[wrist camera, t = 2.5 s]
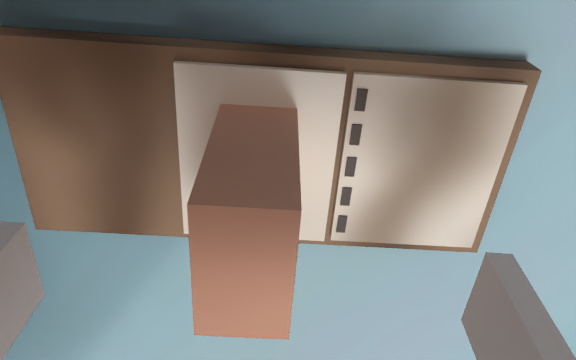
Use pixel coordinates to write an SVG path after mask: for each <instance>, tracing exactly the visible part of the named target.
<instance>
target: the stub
mask: <svg viewBox="0 0 576 360" xmlns="http://www.w3.org/2000/svg"><path fill="white" fill-rule="evenodd" d="M173 68H174V84H175V100H176V116H177V132H178V148H179V164H180V180H181V196H182V212H183V229H184V234H189V249H190V267H191V286H192V304H193V322H194V335H201V336H223V337H244V338H266V339H288V340H289V333H290V323H291V313H292V303H293V293H294V283H295V273H296V262H297V252H298V242H299V240H309V241H324V239H325V232H326V224H327V217H328V210H329V202H330V195H331V187H332V180H333V172H334V165H335V158H336V150H337V143H338V135H339V128H340V121H341V113H342V106H343V98H344V91H345V84H346V76H347V73H346V72H343V71H328V70H312V69H297V68H282V67H266V66H251V65H236V64H221V63H205V62H190V61H174V62H173Z"/></svg>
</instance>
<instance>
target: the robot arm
mask: <svg viewBox="0 0 576 360" xmlns="http://www.w3.org/2000/svg"><path fill="white" fill-rule="evenodd" d="M44 295H45V293H44V290H43V286H42V283H41V279H40V275H39V272H38V268H37V265H36V261H35V258H34V254H33V250H32V247H31V243H30V240H29V236H28V233H27V229H26V225H25V223H16V222H0V360H3V359H4V357H5V355H6V354H7V352H8V351H9V349H10V348H11V346H12V345H13V343H14V341H15V340H16V338H17V337H18V335H19V334H20V332H21V331H22V329H23V327H24V326H25V324H26V323H27V321H28V320H29V318H30V317H31V315H32V313H33V312H34V310H35V309H36V307H37V306H38V304H39V303H40V301H41V299H42V298H43V296H44ZM461 320H462V323H463V326H464V328H465V331H466V333H467V336H468V338H469V341H470V344H471V346H472V349H473V351H474V354H475V356H476V359H477V360H576V358H575V357H574V355H573V353H572V352H571V350H570V348H569V347H568V345H567V343H566V342H565V340H564V338H563V337H562V335H561V333H560V332H559V330H558V329H557V327H556V325H555V324H554V322H553V320H552V319H551V317H550V315H549V314H548V312H547V310H546V309H545V307H544V305H543V304H542V302H541V300H540V299H539V297H538V296H537V294H536V292H535V291H534V289H533V287H532V286H531V284H530V282H529V281H528V279H527V277H526V276H525V274H524V272H523V271H522V269H521V268H520V266H519V264H518V263H517V261H516V259H515V258H514V256H513V254H502V253H487V252H486V254H485V256H484V259H483V262H482V265H481V267H480V270H479V273H478V275H477V278H476V281H475V284H474V286H473V289H472V292H471V294H470V297H469V300H468V303H467V305H466V308H465V311H464V313H463V316H462V319H461Z"/></svg>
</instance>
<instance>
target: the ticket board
mask: <svg viewBox="0 0 576 360" xmlns="http://www.w3.org/2000/svg"><path fill="white" fill-rule="evenodd" d="M174 61H190V62H205V63H221V64H236V65H251V66H266V67H282V68H297V69H312V70H328V71H343V72H346V73H347V76H346V84H345V91H344V98H343V106H342V113H341V121H340V128H339V135H338V143H337V150H336V158H335V165H334V172H333V180H332V187H331V195H330V202H329V210H328V217H327V224H326V232H325V239H324V241H309V240H299V242H298V243H308V244H327V245H346V246H365V247H383V248H402V249H421V250H440V251H459V252H477V251H478V248H479V245H480V242H481V240H482V237H483V234H484V231H485V228H486V226H487V223H488V220H489V217H490V214H491V211H492V209H493V206H494V203H495V200H496V197H497V195H498V192H499V189H500V186H501V183H502V181H503V178H504V175H505V172H506V169H507V166H508V164H509V161H510V158H511V155H512V152H513V150H514V147H515V144H516V141H517V138H518V136H519V133H520V130H521V127H522V124H523V121H524V119H525V116H526V113H527V110H528V107H529V105H530V102H531V99H532V96H533V93H534V91H535V88H536V85H537V82H538V79H539V77H540V74H541V70H539V69H538V68H536V67H535V66H534V65H532V64H531V63H529V62H526V61H512V60H497V59H482V58H467V57H452V56H437V55H422V54H407V53H392V52H377V51H362V50H347V49H332V48H318V47H303V46H288V45H273V44H258V43H243V42H228V41H213V40H198V39H183V38H168V37H153V36H138V35H124V34H109V33H94V32H79V31H64V30H49V29H34V28H19V27H4V26H1V27H0V96H1V100H2V104H3V107H4V111H5V115H6V119H7V122H8V126H9V130H10V134H11V137H12V141H13V145H14V149H15V152H16V156H17V160H18V164H19V167H20V171H21V175H22V179H23V182H24V186H25V190H26V194H27V198H28V201H29V205H30V209H31V213H32V216H33V220H34V224H35V228H36V229H44V230H63V231H82V232H101V233H120V234H139V235H157V236H176V237H189V234H184V229H183V212H182V196H181V180H180V164H179V148H178V132H177V116H176V100H175V84H174V68H173V62H174Z"/></svg>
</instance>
